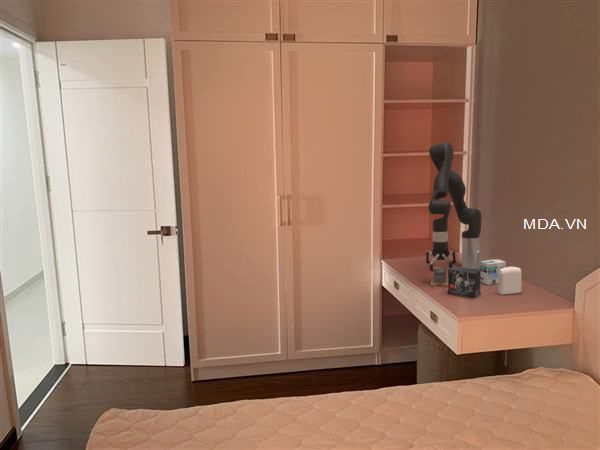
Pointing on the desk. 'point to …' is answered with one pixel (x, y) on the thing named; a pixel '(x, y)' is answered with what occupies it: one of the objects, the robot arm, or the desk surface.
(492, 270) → the light bulb box
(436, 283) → the shaft base
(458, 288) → the small box
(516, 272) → the photo printer
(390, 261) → the desk surface
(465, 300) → the desk surface
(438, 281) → the knob
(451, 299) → the desk surface
